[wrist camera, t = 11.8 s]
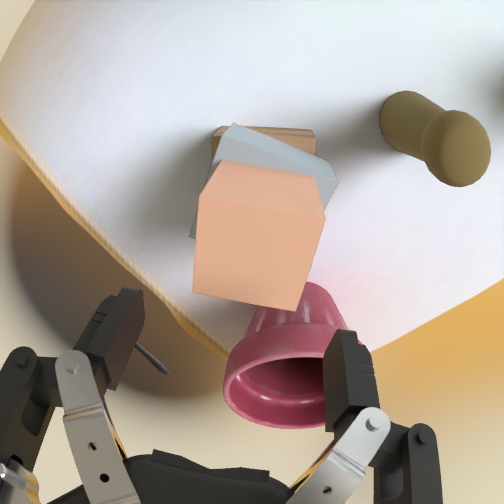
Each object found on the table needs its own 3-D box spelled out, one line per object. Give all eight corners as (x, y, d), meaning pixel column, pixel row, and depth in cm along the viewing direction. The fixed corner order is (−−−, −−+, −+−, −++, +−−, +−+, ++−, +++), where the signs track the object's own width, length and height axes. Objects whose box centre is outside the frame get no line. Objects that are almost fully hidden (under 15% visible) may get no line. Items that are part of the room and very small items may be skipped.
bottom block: (222, 125, 27) (211, 135, 23) (311, 129, 26) (316, 140, 22) (223, 204, 31) (215, 226, 27) (304, 209, 31) (307, 232, 27)
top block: (233, 122, 22) (222, 134, 19) (330, 162, 23) (339, 182, 19) (202, 210, 27) (188, 236, 23) (289, 242, 28) (289, 273, 24)
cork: (367, 132, 25) (411, 171, 16) (397, 78, 22) (458, 89, 13) (417, 164, 26) (473, 215, 17) (446, 114, 23) (515, 145, 14)
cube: (222, 159, 19) (199, 196, 14) (314, 177, 20) (325, 219, 15) (212, 238, 23) (192, 292, 18) (294, 253, 23) (295, 311, 18)
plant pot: (326, 239, 32) (342, 332, 21) (370, 322, 38) (388, 407, 27) (215, 291, 37) (190, 380, 26) (275, 357, 43) (269, 438, 32)
